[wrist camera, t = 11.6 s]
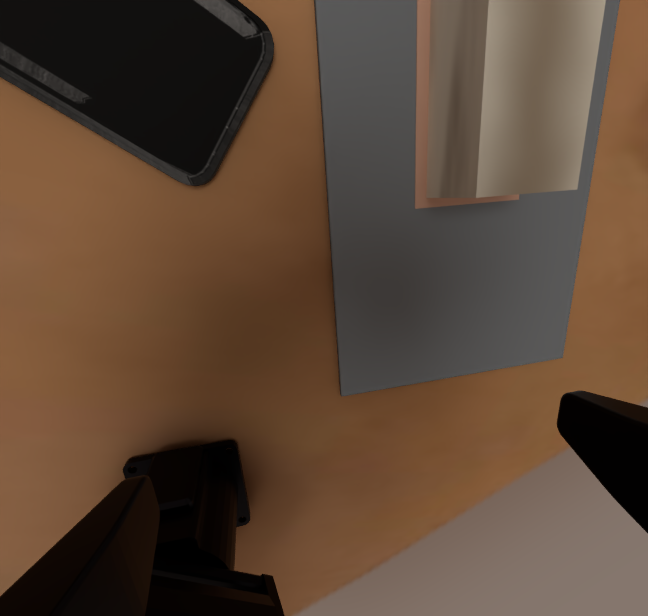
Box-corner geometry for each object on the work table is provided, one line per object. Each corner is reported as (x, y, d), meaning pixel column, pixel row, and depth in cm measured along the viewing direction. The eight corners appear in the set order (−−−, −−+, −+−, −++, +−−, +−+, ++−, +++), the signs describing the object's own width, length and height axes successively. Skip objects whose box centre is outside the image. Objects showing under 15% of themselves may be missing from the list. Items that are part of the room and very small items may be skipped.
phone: (-148, -309, 10) (283, 36, 15) (-112, -262, 12) (281, 47, 16) (-218, -47, 12) (201, 197, 16) (-179, -27, 13) (204, 197, 17)
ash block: (530, -55, 16) (627, -144, 12) (507, 191, 20) (577, 189, 15) (432, -60, 15) (498, -157, 11) (426, 198, 19) (476, 197, 15)
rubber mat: (559, 356, 25) (563, 358, 24) (340, 394, 22) (341, 397, 22) (627, -84, 17) (635, -90, 17) (307, -105, 14) (308, -112, 14)
